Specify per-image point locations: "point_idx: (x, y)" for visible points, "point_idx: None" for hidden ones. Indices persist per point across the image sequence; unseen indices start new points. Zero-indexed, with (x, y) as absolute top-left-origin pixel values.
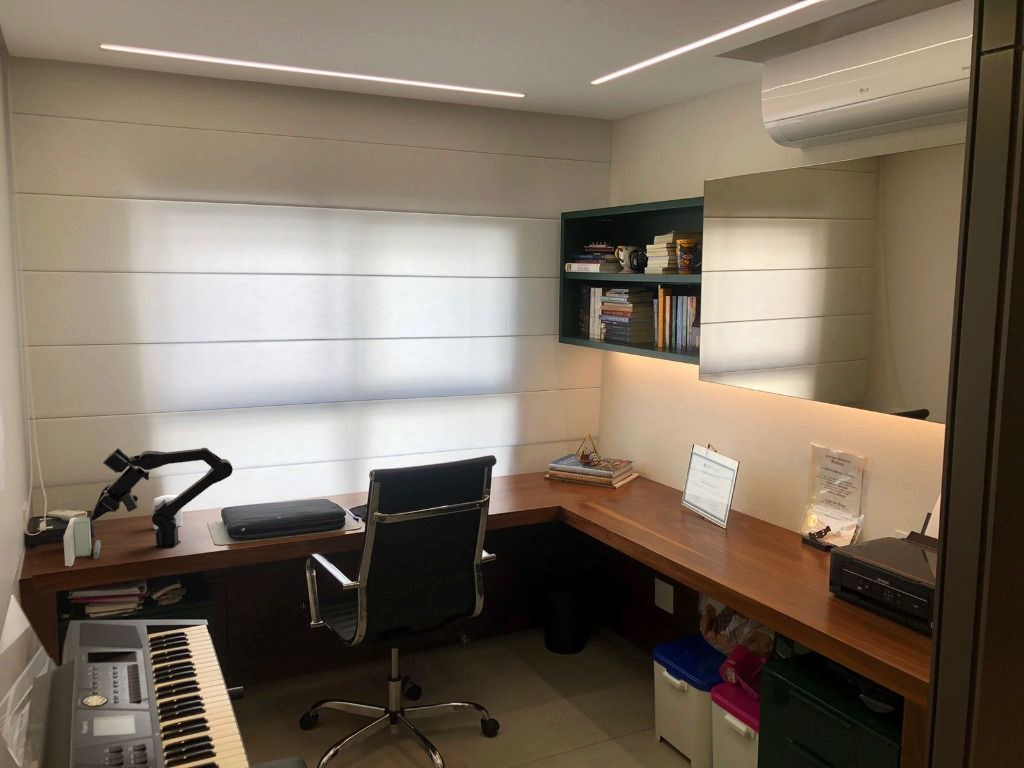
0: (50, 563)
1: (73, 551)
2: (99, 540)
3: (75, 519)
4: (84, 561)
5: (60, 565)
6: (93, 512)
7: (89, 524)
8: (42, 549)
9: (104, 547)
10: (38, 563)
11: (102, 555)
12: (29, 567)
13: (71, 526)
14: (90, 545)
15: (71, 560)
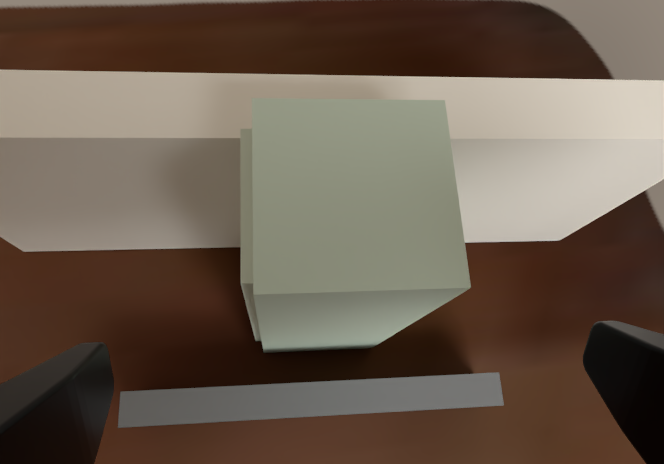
0: None
1: (155, 225)
2: (487, 400)
3: (410, 114)
4: (111, 325)
5: None
6: (591, 330)
7: (370, 307)
8: (514, 43)
9: (456, 439)
10: (207, 47)
11: (223, 451)
12: (140, 10)
13: None
14: (316, 342)
15: (3, 234)
